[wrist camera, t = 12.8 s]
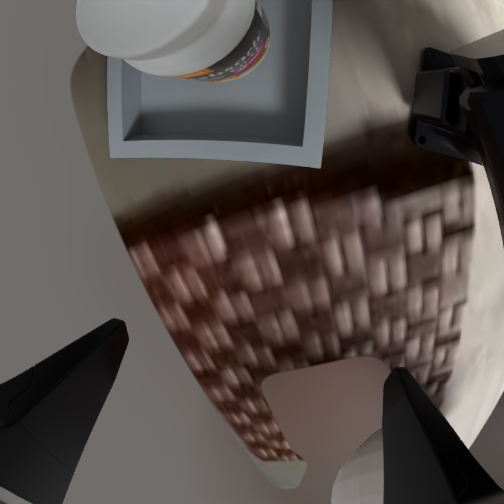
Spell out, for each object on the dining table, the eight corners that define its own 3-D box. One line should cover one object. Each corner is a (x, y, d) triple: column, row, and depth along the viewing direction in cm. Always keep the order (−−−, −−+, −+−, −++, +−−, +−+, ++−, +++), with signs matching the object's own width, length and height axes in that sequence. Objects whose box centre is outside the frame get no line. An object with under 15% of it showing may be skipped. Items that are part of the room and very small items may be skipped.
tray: (328, -48, 10) (332, -69, 8) (317, 156, 17) (320, 168, 15) (141, -37, 11) (119, -49, 9) (134, 147, 18) (110, 158, 16)
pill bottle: (206, 100, 16) (108, 116, 7) (159, 32, 14) (43, 4, 5) (291, 51, 14) (280, -3, 5) (238, -20, 12) (175, -106, 3)
